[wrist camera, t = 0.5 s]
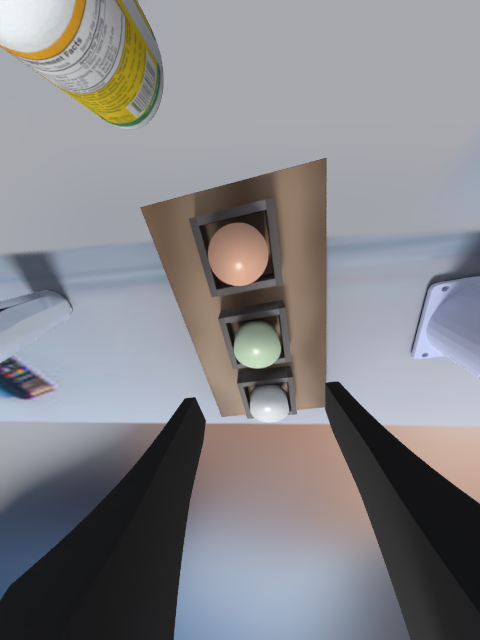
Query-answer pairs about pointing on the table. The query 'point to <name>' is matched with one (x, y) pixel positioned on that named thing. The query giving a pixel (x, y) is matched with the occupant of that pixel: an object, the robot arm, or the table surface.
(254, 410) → the grey button
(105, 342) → the table surface
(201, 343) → the button board
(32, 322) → the milkshake
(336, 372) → the table surface
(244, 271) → the terracotta button
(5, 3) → the supplement bottle
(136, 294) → the table surface
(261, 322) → the sage button
